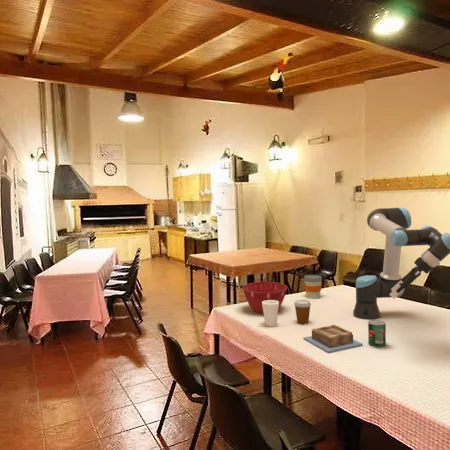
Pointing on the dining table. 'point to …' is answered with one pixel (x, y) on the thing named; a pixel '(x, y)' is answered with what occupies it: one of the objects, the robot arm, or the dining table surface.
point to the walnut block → (332, 336)
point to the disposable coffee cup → (302, 311)
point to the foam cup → (270, 312)
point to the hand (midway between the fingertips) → (392, 294)
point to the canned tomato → (377, 333)
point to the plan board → (332, 349)
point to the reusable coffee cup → (312, 286)
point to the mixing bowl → (263, 293)
